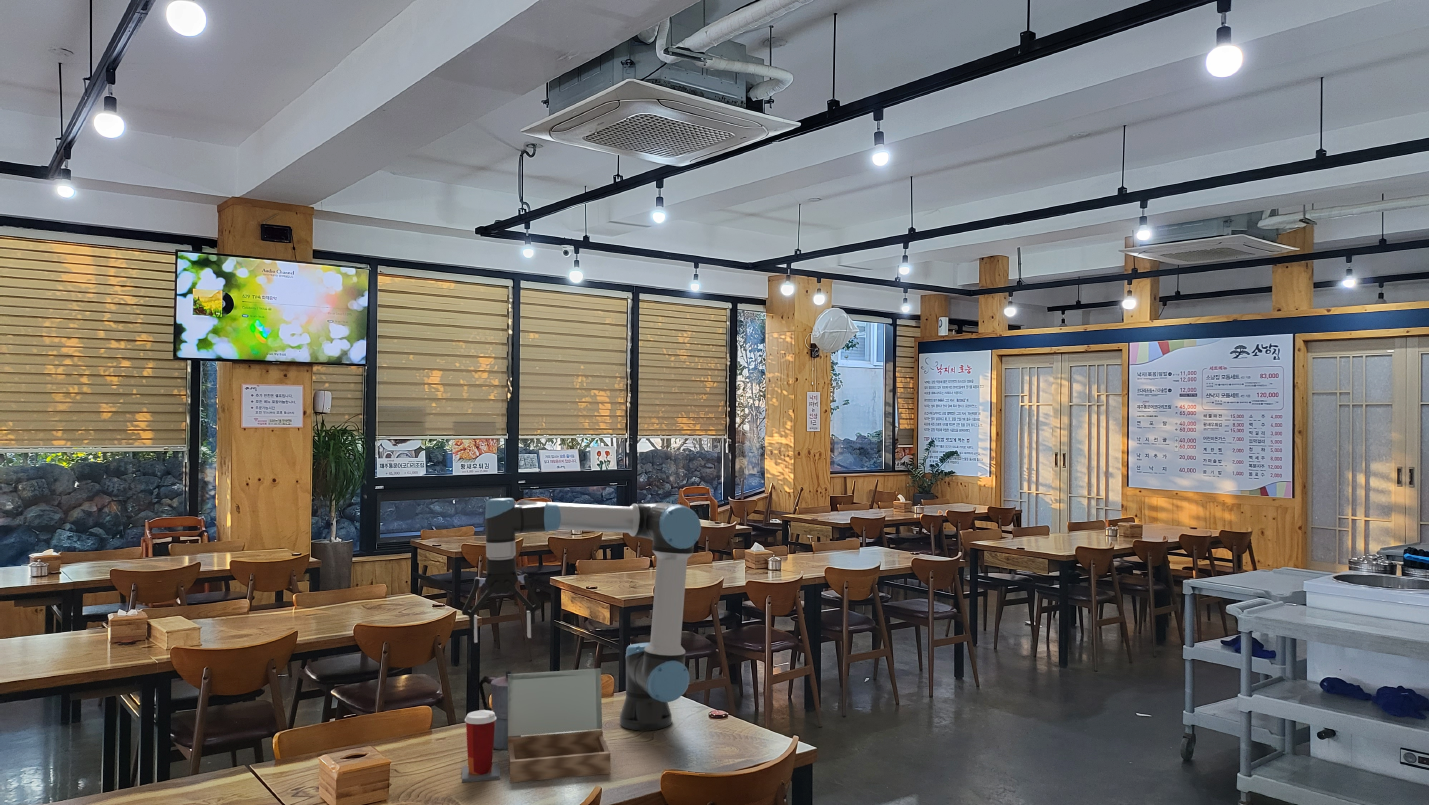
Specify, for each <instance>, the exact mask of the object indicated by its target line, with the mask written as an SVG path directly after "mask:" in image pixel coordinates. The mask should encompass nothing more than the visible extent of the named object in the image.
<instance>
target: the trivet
mask: <svg viewBox="0 0 1429 805" xmlns="http://www.w3.org/2000/svg"><path fill="white" fill-rule="evenodd" d="M500 770H501V769H500V763H499V762H497V763H492V770H491V772H489V773H487V774H483V775H472V774H470V773H469V770H468V765H462V768H461V773H462V774H461V783H470V782H481V781H493V780H500V779H501V773H500V772H501V771H500Z"/></svg>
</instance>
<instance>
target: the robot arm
mask: <svg viewBox="0 0 1429 805" xmlns="http://www.w3.org/2000/svg"><path fill="white" fill-rule="evenodd" d="M484 519H485V553H486V554H485V557H486V558H487V559H486V565H485V566H486V576H485V577H484V578H483V577H481V578H480V577H478V576H476V577H474V581H473V587H472V589H471V591H470V593H469V595H468V597H467V599H466V601H465V603H464V605H463V607H462V610H461V615H462V616H467V617H468V620H469V622H468V623H469V624H468V625H469V630H473V637H474V638H473V642H474V644H476V643H478V615H477V613H478V611H479V610H480V609H481V607H482V606H483V605H484V604H485V602H486V601H487V600H488V599H489V597H491V595H492V594H494V595H500V594H503V595H504V594H509V593H511V592H512V593H513V594H514V595H515V596H516V597H517V599H518V600H519V601H520V602H521V603H522V604H523V605H524V606H525V607H526V608H527V609H528V610H526V632H527V633H526V636H527V638H528V639H532V625H535V623H536V611H538V610H542V607H543V606H542V604H541V602H540V600H539V599H538V597H537V595H536V593H535V591H534V589H533V588H532V586H531V584H530V580H529V579H530V578H529V574H527V573H524V574H522V575H521V574H520V575H517V559H516V557H515V556H516V555H517V554H516V552H517V551H516V550H517V549H516V535H517V534H527V533H528V534H529V533H549V532H556V531H558V530H562V531H563V530H565V531H581V532H583V531H586V532H601V533H602V532H605V533H607V532H609V533H623V534H624V533H628V534H629V535H630V536H631V537H634V538H635V537H638V538H644V539H648V540H651V541H652V549H651V550H652V553H653V554H654V555H655V556H656V566H655V580H654V591H653V592H654V593H653V604H652V606H653V607H652V616H651V626H650V627H651V628H650V630H651V631H650V641H649V642H639V643H638V642H637V643H633V644H630V645H629V644H628V646H627V647H626V649H625V650H626V651H625V653H626V654H625V698H624V701H623V702H624V703H623V705H622V707H621V712H620V715H619V725H620V726H621V727H622V728H624V729H627V730H632V731H644V732H645V731H656V730H660V729H661V730H662V729H664V728H666V727H669V726H671V724H672V722H673V721H672V720H673V719H672V718H673V717H672V716H673V715H672V712H671V708H670V706H669V703H672V702H675V701H676V700H678V699H679V698H681V697H682V696H683V695H684V694H685V693H686V691H687V690H688V687H689V685H690V673H689V671H688V668H687V666H685V662H686V650H685V648H684V647H683V646H682V645H681V644H682V633H683V632H682V629H683V618H684V605H685V604H684V603H685V592H686V580H687V566H688V559H689V558H690V557H691V556H692V555H694V548H695V547H694V546H695V544H696V542H698V540H699V539H700V536H701V531H702V524H701V521H700V518H699V516H698V514H697V513H696V512H695V510H693V509H691V508H690V507H687V506H686V505H683V504H676V503H669V502H653V503H632V504H631V505H630V506H622V505H605V504H589V503H588V504H586V503H571V502H570V503H569V502H554V501H546V502H545V501H538V500H537V501H533V500H529V499H528V500H527V499H522V500H520V501H519V500H518V502H516V501H515V499H514V498H513V497H500V498H499V497H497V498H495V497H494V498H490V499H488V500H487V501H486V503H485V515H484ZM518 581H519V582H520V583H521V584H524V586H525V588H526V590H527V592H528V594H529V595H530V597H531V599H532V601H533V603H534V605H532V604H531V602H529V600H528V599H527V598H526V597H525V596H524V595H523V594H522V593H521V592H520V591H519V590H518V588H517V587H516V584H518ZM483 584H485V585H486V586H487V587H488V588H486V590H485V592H484V593H483V594H482V596H481V597H480V598H479V600H478V601H477V602H476V603H475V604H474V605H473V607H472V609H470V607H471V606H472V603H473V601H474V599H475V597H476V595H477V593H478V592H479V588H480V587H482V586H483Z"/></svg>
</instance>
